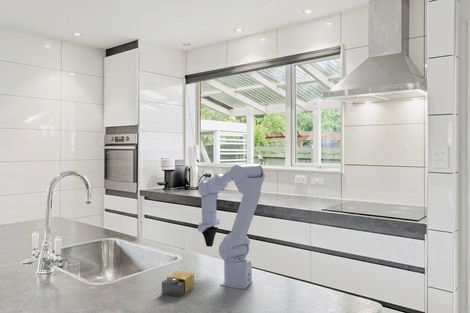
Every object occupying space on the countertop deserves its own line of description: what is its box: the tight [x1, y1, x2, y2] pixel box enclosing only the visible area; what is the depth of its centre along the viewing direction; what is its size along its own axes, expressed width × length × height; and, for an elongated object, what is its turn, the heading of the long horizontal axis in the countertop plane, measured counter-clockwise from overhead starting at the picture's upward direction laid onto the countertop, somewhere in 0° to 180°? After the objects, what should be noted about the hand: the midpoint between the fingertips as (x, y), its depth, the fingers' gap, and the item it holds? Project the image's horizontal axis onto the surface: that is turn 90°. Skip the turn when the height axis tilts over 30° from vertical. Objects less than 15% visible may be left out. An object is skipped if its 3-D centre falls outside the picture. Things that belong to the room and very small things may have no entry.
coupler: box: [161, 277, 185, 298], centre depth 124 cm, size 7×9×5 cm
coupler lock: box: [166, 271, 195, 295], centre depth 126 cm, size 7×6×5 cm
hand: (209, 246), depth 143 cm, fingers closed
